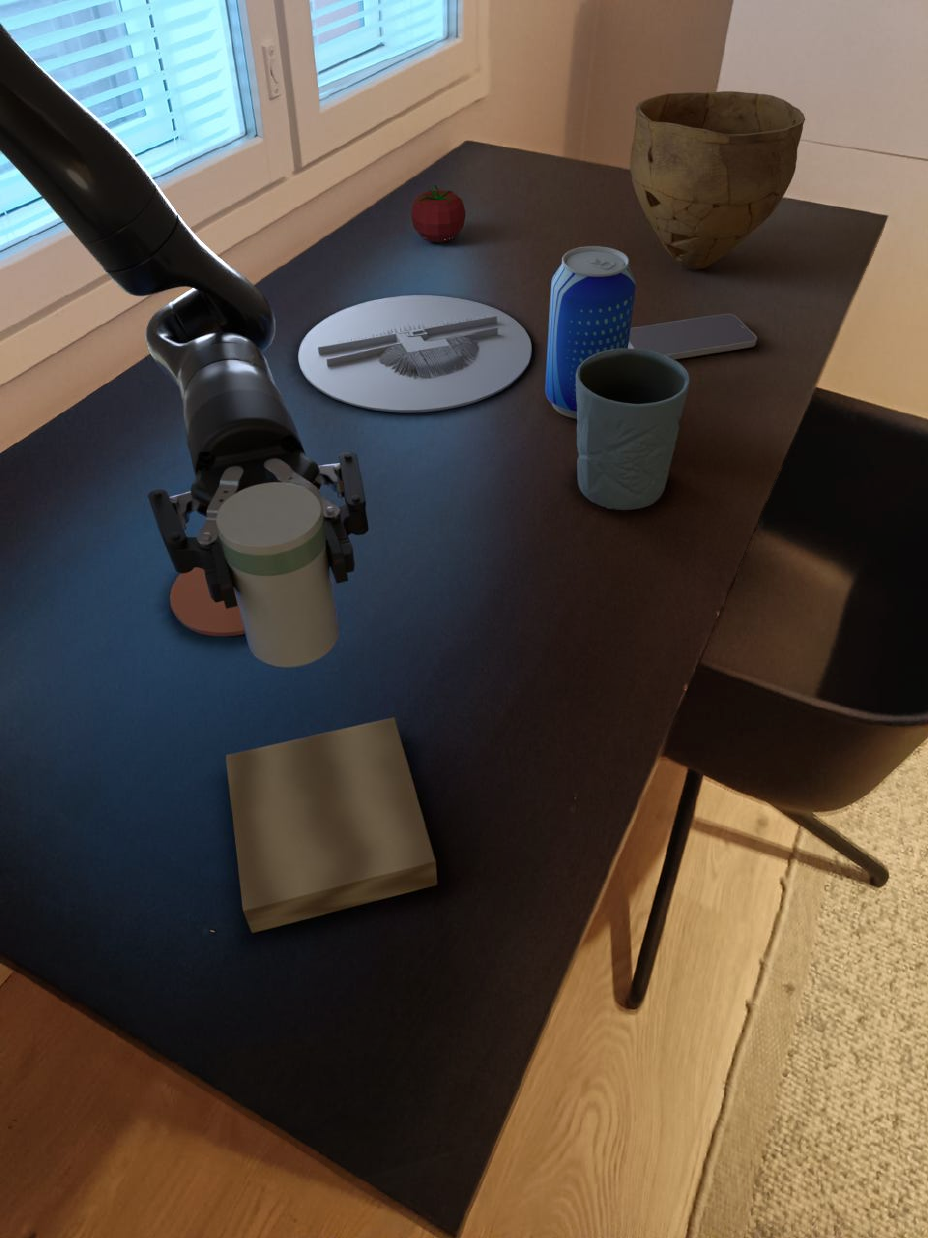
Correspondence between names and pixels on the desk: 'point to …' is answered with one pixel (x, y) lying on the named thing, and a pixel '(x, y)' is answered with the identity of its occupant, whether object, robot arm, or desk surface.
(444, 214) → the tomato
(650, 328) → the smartphone
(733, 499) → the desk surface
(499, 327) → the plate
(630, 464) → the embossed ceramic tumbler
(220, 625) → the coaster
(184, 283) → the robot arm
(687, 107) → the bowl
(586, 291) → the beer can
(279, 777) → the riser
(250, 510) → the canister
